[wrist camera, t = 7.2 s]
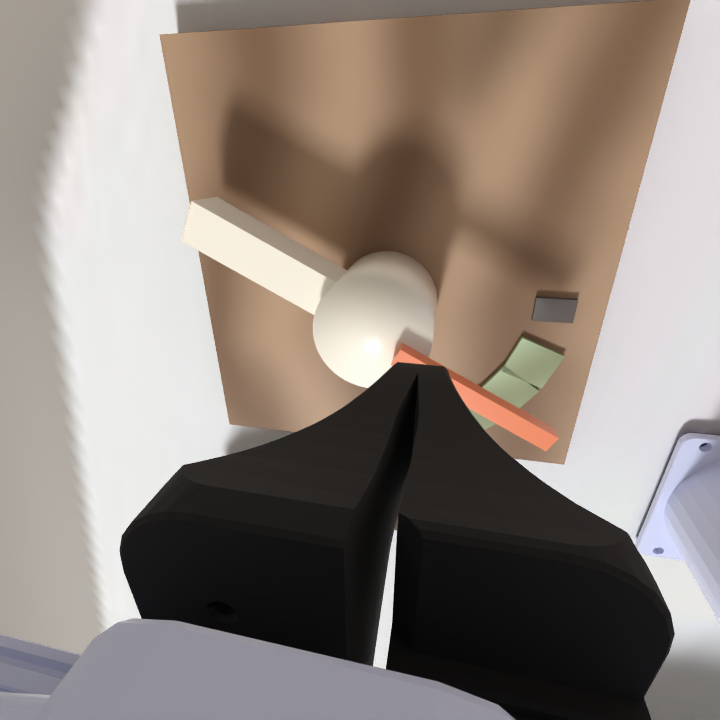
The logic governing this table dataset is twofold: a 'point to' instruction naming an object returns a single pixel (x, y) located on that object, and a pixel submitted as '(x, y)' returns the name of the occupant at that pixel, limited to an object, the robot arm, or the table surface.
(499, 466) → the robot arm
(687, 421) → the table surface
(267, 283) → the peg
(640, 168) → the board
